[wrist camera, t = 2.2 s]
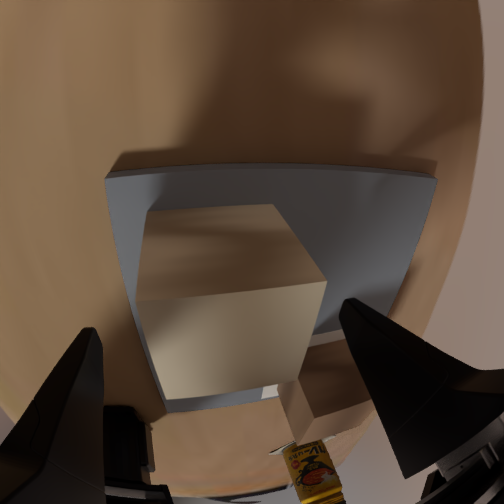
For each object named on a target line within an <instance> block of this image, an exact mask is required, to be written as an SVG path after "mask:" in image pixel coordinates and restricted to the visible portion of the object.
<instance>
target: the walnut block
mask: <svg viewBox="0 0 504 504" xmlns="http://www.w3.org/2000/svg"><path fill="white" fill-rule="evenodd" d="M277 392H278V395H279V398H280V400H281V403H282V406H283V409H284V411H285V414H286V417H287V420H288V422H289V425H290V428H291V430H292V433H293V436H294V439H295V441H296V444H297V446H299V445H303V444H306V443H310V442H313V441H316V440H319V439H323V438H326V437H329V436H332V435H335V434H338V433H341V432H343V431H346V430H349V429H352V428H354V427H357V426H359V425H360V424H361V423H362V422H363V421H364V420H365V419H366V418H367V417H368V415H369V414H370V413H371V412H372V411H373V410H374V408H375V406H374V404H373V401H372V399H371V397H370V395H369V392H368V390H367V388H366V386H365V383H364V381H363V379H362V377H361V375H360V372H359V370H358V368H357V366H356V364H355V362H354V359H353V357H352V355H351V353H350V350H349V347H348V344H347V341H346V339H342V340H337V341H333V342H329V343H325V344H320V345H316V346H311V347H308V348H307V351H306V354H305V357H304V360H303V363H302V366H301V369H300V372H299V375H298V378H297V380H295V381H290V382H286V383H281V384H278V387H277Z"/></svg>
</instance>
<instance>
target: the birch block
mask: <svg viewBox="0 0 504 504" xmlns="http://www.w3.org/2000/svg"><path fill="white" fill-rule="evenodd" d="M326 284H327V280H326V278H325V277H324V275H323V274H322V272H321V271H320V269H319V268H318V267H317V265H316V264H315V262H314V261H313V259H312V258H311V256H310V255H309V254H308V252H307V251H306V249H305V248H304V247H303V245H302V244H301V242H300V241H299V239H298V238H297V237H296V235H295V234H294V232H293V231H292V230H291V228H290V227H289V225H288V224H287V223H286V221H285V220H284V219H283V217H282V216H281V214H280V213H279V212H278V210H277V209H276V208H275V206H274V205H273V204H259V205H238V206H219V207H203V208H188V209H175V210H162V211H150V212H147V214H146V220H145V226H144V232H143V239H142V246H141V253H140V261H139V269H138V277H137V287H136V297H135V303H136V307H137V311H138V314H139V318H140V322H141V325H142V329H143V332H144V335H145V339H146V342H147V345H148V348H149V351H150V355H151V358H152V361H153V364H154V367H155V370H156V373H157V375H158V378H159V381H160V384H161V387H162V389H163V392H164V395H165V397H166V400H169V399H181V398H191V397H200V396H209V395H217V394H224V393H231V392H237V391H243V390H249V389H255V388H261V387H266V386H271V385H276V384H281V383H286V382H290V381H295V380H297V378H298V375H299V372H300V369H301V366H302V363H303V360H304V357H305V354H306V351H307V348H308V345H309V342H310V339H311V336H312V332H313V329H314V326H315V323H316V319H317V316H318V312H319V309H320V306H321V302H322V299H323V295H324V292H325V288H326Z"/></svg>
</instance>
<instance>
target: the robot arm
mask: <svg viewBox="0 0 504 504" xmlns="http://www.w3.org/2000/svg"><path fill="white" fill-rule="evenodd" d="M339 321H340V324H341V327H342V330H343V333H344V336H345V339H346V341H347V344H348V347H349V350H350V353H351V355H352V357H353V359H354V362H355V364H356V366H357V368H358V370H359V372H360V375H361V377H362V379H363V381H364V383H365V386H366V388H367V390H368V392H369V395H370V397H371V399H372V401H373V404H374V406H375V408H376V411H377V413H378V415H379V417H380V420H381V422H382V424H383V427H384V429H385V432H386V434H387V436H388V439H389V442H390V444H391V446H392V449H393V451H394V454H395V456H396V459H397V461H398V464H399V466H400V469H401V471H402V474H403V476H404V478H405V479H407V478H409V477H411V476H413V475H415V474H416V473H418V472H420V471H422V470H424V469H425V468H427V467H429V466H431V465H432V464H434V463H435V464H436V465H437V467H438V469H436V470H435V471H433V472H432V473H430V474H429V475H428V477H427V480H426V483H425V487H424V490H423V493H422V496H421V501H419V502H417V503H416V504H504V369H497V370H479V369H476V368H473V367H471V366H469V365H467V364H465V363H463V362H461V361H460V360H458V359H456V358H454V357H452V356H450V355H448V354H446V353H444V352H443V351H441V350H439V349H438V348H436V347H434V346H432V345H431V344H429V343H428V342H425V341H424V340H423V339H421V338H420V337H418V336H416V335H415V334H413V333H412V332H410V331H408V330H407V329H405V328H404V327H402V326H400V325H399V324H397V323H396V322H394V321H392V320H391V319H389V318H387V317H386V316H384V315H383V314H381V313H379V312H378V311H376V310H374V309H373V308H371V307H370V306H368V305H366V304H365V303H363V302H361V301H360V300H358V299H356V298H354V297H352V298H347V299H345V300H344V301H343V303H342V306H341V309H340V312H339ZM103 398H104V377H103V347H102V343H101V340H100V338H99V336H98V334H97V331H96V329H95V328H94V327H85V328H83V329H82V330H81V331H80V333H79V334H78V335H77V337H76V338H75V339H74V341H73V342H72V343H71V345H70V346H69V347H68V349H67V350H66V352H65V353H64V354H63V356H62V357H61V358H60V360H59V361H58V363H57V364H56V366H55V367H54V368H53V370H52V371H51V373H50V374H49V376H48V377H47V379H46V380H45V381H44V383H43V384H42V386H41V387H40V389H39V390H38V392H37V394H36V395H35V397H34V400H32V401H31V403H30V404H29V406H28V407H27V409H26V410H25V412H24V413H23V415H22V416H21V418H20V419H19V421H18V422H17V423H16V425H15V426H14V428H13V429H12V430H11V431H10V433H9V434H8V436H7V437H6V438H5V440H4V441H3V442H2V444H1V445H0V504H174V503H173V501H172V497H171V495H170V492H169V489H168V486H167V485H163V484H160V485H151V481H150V473H149V472H154V471H155V462H154V454H153V444H152V434H151V431H150V430H149V428H148V427H147V425H146V424H145V423H144V422H143V421H142V420H141V419H140V417H139V416H138V414H137V412H136V411H135V409H134V408H131V407H103ZM105 493H108V494H115V495H122V496H131V497H142V498H146V499H136V498H127V497H118V496H111V495H106V494H105Z"/></svg>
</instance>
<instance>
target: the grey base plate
mask: <svg viewBox="0 0 504 504" xmlns="http://www.w3.org/2000/svg"><path fill="white" fill-rule="evenodd" d="M437 181H438V179H437V178H435V177H433V176H432V175H430V174H426V173H419V172H411V171H402V170H393V169H382V168H371V167H359V166H344V165H326V164H299V163H228V164H201V165H183V166H168V167H155V168H144V169H134V170H124V171H115V172H109V173H108V174H107V176H106V177H105V186H106V193H107V200H108V207H109V213H110V218H111V224H112V229H113V235H114V240H115V245H116V249H117V254H118V259H119V263H120V267H121V272H122V276H123V280H124V284H125V288H126V292H127V295H128V299H129V303H130V306H131V310H132V313H133V317H134V320H135V323H136V327H137V330H138V333H139V336H140V340H141V343H142V346H143V349H144V352H145V355H146V357H147V360H148V363H149V366H150V369H151V372H152V374H153V377H154V380H155V382H156V385H157V387H158V390H159V393H160V395H161V398H162V400H163V403H164V405H165V407H166V410H167V412H168V413H174V412H185V411H195V410H204V409H212V408H220V407H227V406H233V405H240V404H246V403H251V402H257V401H262V400H267V399H272V398H277V397H279V395H278V392H277V387H278V384H276V385H271V386H266V387H261V388H255V389H249V390H243V391H237V392H231V393H224V394H217V395H209V396H200V397H191V398H181V399H169V400H166V397H165V395H164V392H163V389H162V387H161V384H160V381H159V378H158V375H157V373H156V370H155V367H154V364H153V361H152V358H151V355H150V351H149V348H148V345H147V342H146V339H145V335H144V332H143V329H142V325H141V322H140V318H139V314H138V311H137V307H136V303H135V297H136V287H137V277H138V269H139V261H140V253H141V246H142V239H143V232H144V226H145V220H146V214H147V212H150V211H162V210H175V209H188V208H203V207H219V206H238V205H259V204H273V205H274V206H275V208H276V209H277V210H278V212H279V213H280V214H281V216H282V217H283V219H284V220H285V221H286V223H287V224H288V225H289V227H290V228H291V230H292V231H293V232H294V234H295V235H296V237H297V238H298V239H299V241H300V242H301V244H302V245H303V247H304V248H305V249H306V251H307V252H308V254H309V255H310V256H311V258H312V259H313V261H314V262H315V264H316V265H317V267H318V268H319V269H320V271H321V272H322V274H323V275H324V277H325V278H326V280H327V284H326V288H325V292H324V295H323V299H322V302H321V306H320V309H319V312H318V316H317V319H316V323H315V326H314V329H313V332H312V336H311V339H310V342H309V345H308V347H311V346H316V345H320V344H325V343H329V342H333V341H337V340H342V339H345V336H344V333H343V330H342V327H341V324H340V321H339V312H340V309H341V306H342V303H343V301H344V300H345V299H347V298H352V297H354V298H356V299H358V300H360V301H361V302H363V303H365V304H366V305H368V306H370V307H371V308H373V309H374V310H376V311H378V312H379V313H381V314H383V315H384V316H386V317H387V315H388V313H389V311H390V309H391V306H392V304H393V302H394V300H395V298H396V295H397V293H398V291H399V289H400V286H401V284H402V282H403V279H404V277H405V274H406V272H407V270H408V267H409V265H410V262H411V260H412V257H413V254H414V252H415V249H416V246H417V244H418V241H419V238H420V235H421V232H422V230H423V227H424V224H425V221H426V218H427V215H428V211H429V208H430V205H431V202H432V198H433V195H434V191H435V188H436V184H437Z"/></svg>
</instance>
